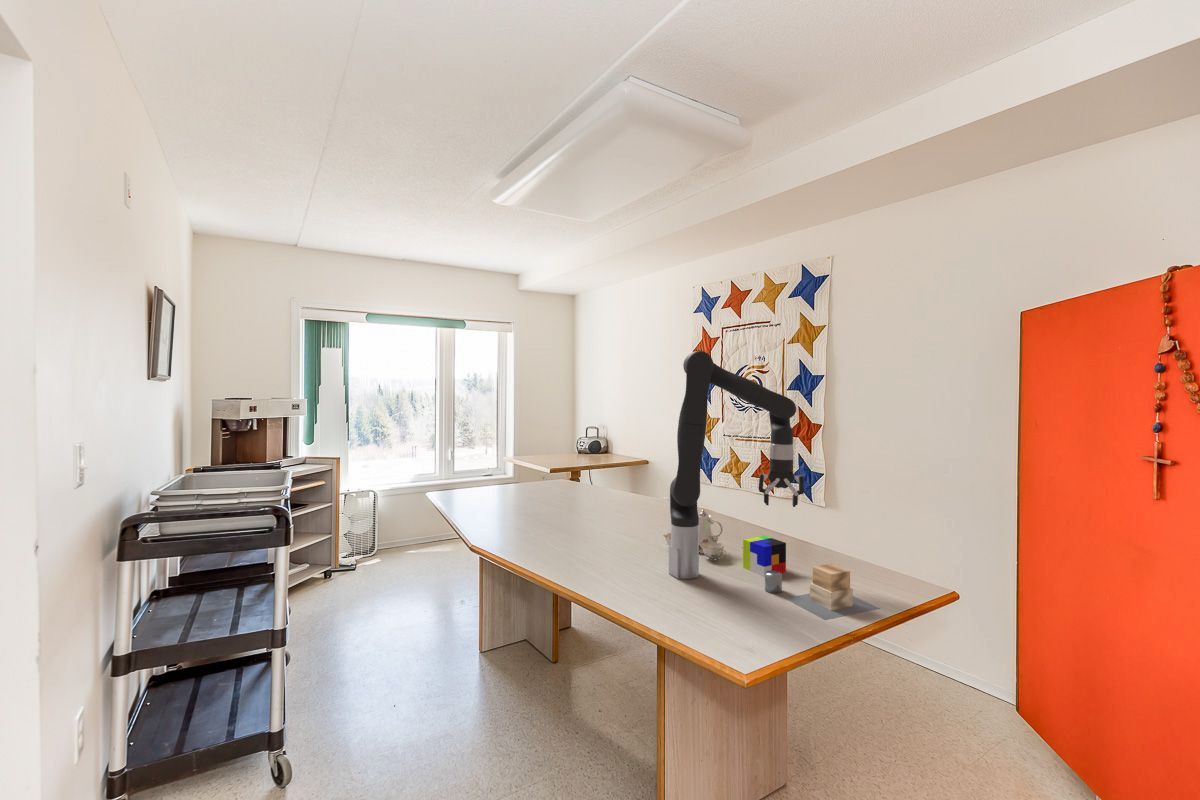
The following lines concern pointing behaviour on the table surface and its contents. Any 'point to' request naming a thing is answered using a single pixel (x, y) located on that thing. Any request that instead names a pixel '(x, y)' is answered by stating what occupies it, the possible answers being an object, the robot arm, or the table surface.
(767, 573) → the metal cylinder
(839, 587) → the top block
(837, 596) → the base block
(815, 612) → the slate mat
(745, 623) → the table surface
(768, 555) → the puzzle toy
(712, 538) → the chinaware
